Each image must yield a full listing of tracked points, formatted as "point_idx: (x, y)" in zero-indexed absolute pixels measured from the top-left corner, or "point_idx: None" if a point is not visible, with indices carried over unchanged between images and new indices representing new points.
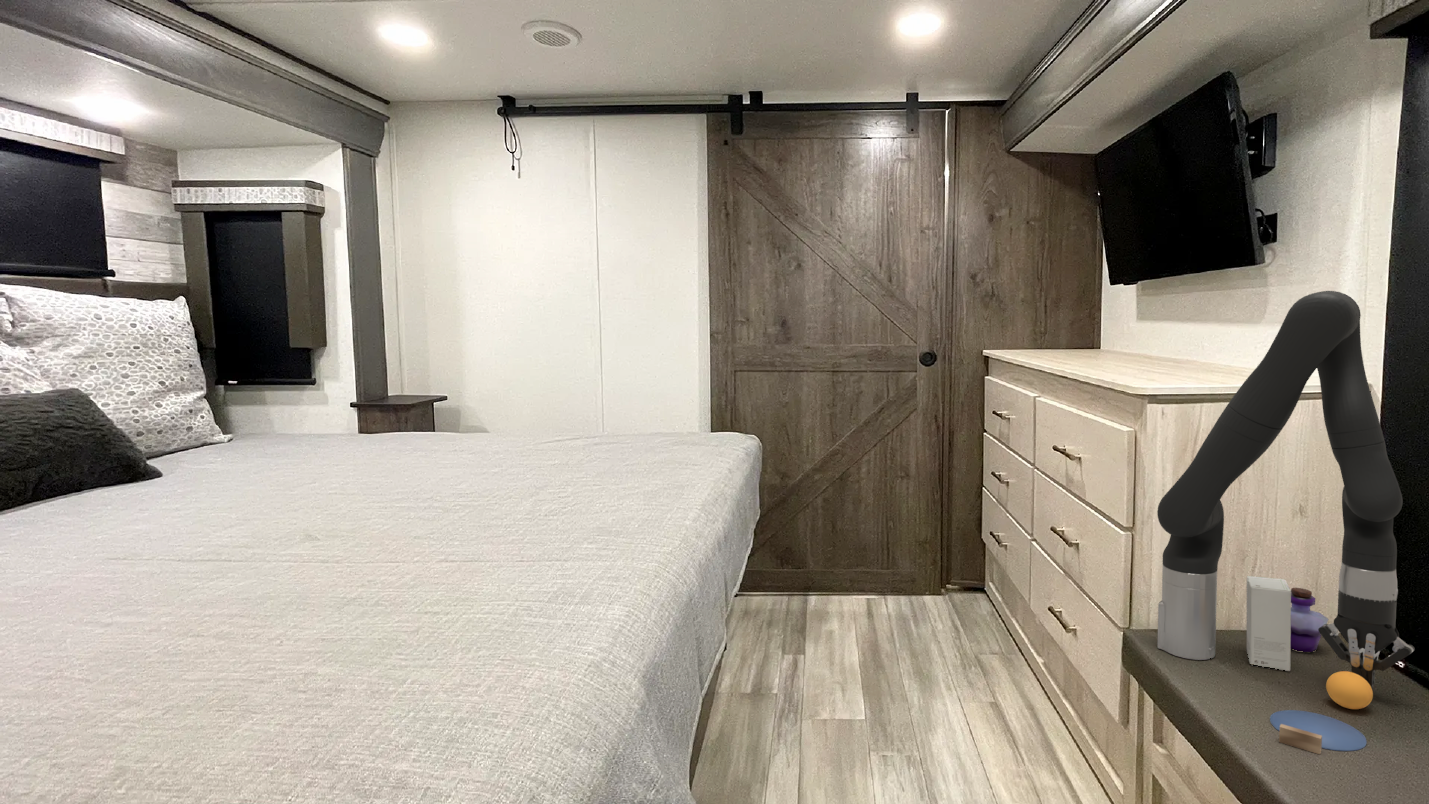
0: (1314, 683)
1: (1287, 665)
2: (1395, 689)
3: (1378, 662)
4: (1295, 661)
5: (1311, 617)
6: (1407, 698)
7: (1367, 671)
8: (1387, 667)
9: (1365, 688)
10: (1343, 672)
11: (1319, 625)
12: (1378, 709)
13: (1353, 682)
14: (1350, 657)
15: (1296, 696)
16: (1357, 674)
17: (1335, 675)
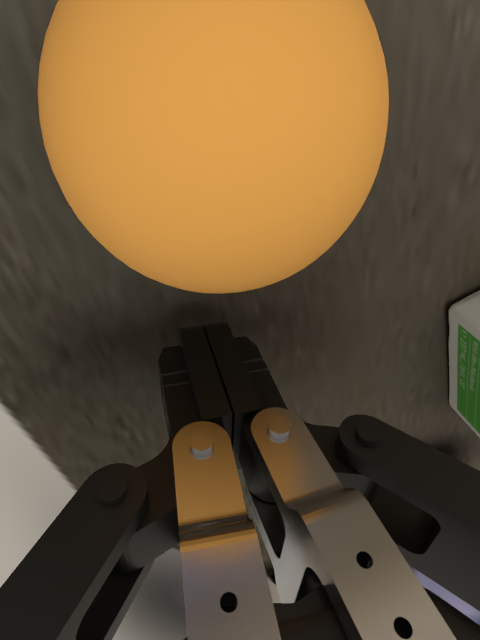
0: (365, 279)
1: (477, 314)
2: (135, 462)
3: (147, 526)
4: (421, 398)
5: (471, 606)
6: (70, 435)
7: (198, 421)
8: (64, 515)
9: (67, 76)
10: (325, 160)
11: (433, 586)
12: (74, 226)
13: (182, 13)
14: (322, 461)
15: (443, 4)
16: (210, 247)
17: (370, 86)
